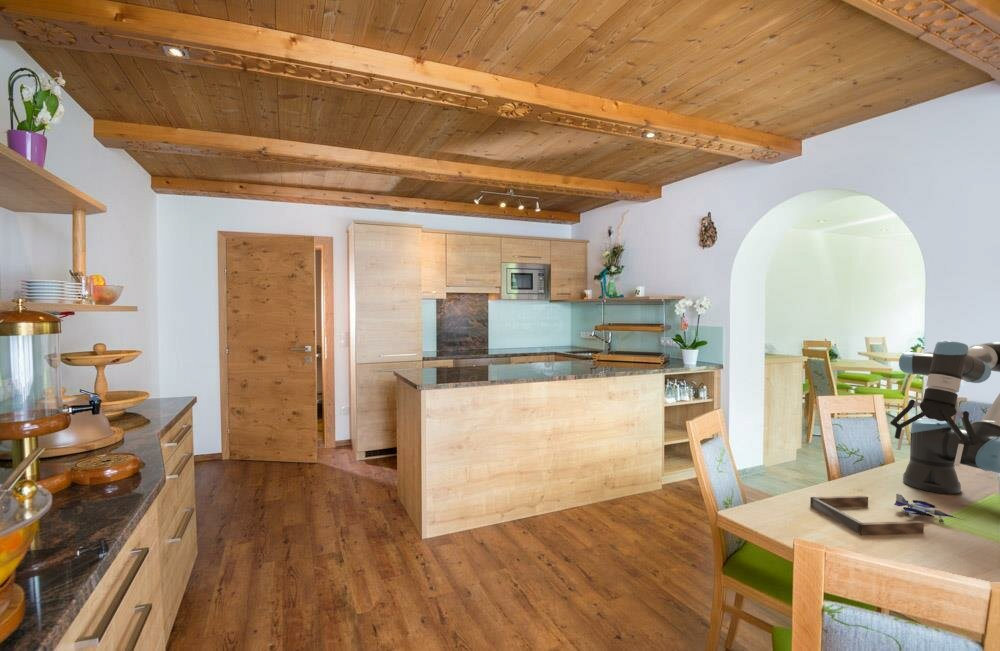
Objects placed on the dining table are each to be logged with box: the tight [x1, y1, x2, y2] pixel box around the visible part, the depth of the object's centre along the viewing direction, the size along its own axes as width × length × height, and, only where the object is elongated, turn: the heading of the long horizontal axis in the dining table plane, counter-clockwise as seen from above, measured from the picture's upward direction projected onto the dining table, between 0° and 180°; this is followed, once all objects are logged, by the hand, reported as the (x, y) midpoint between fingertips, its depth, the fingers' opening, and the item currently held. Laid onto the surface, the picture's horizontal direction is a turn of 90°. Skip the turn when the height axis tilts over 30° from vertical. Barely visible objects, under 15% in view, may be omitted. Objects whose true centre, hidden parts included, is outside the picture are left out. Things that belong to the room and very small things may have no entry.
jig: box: [809, 495, 925, 537], centre depth 141 cm, size 18×19×3 cm
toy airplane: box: [893, 493, 967, 523], centre depth 142 cm, size 13×14×4 cm
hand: (926, 457), depth 146 cm, fingers open, 13 cm apart
